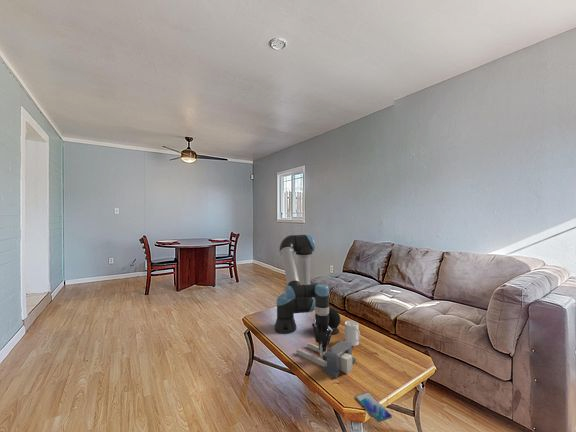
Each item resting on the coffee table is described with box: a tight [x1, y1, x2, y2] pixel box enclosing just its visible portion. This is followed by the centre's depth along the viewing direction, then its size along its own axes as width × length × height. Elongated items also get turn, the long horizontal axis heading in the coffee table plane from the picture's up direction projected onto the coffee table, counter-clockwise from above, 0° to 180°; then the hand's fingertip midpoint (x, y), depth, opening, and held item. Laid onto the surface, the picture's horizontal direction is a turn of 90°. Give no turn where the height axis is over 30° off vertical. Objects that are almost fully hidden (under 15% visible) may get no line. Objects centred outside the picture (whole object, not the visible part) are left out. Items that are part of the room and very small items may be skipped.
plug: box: [322, 352, 354, 374], centre depth 138 cm, size 16×5×7 cm, turn 46°
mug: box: [344, 320, 362, 347], centre depth 160 cm, size 12×8×12 cm
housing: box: [321, 339, 357, 379], centre depth 137 cm, size 8×19×10 cm, turn 136°
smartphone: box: [354, 391, 393, 423], centre depth 108 cm, size 7×1×15 cm
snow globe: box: [327, 307, 341, 336], centre depth 178 cm, size 13×13×15 cm
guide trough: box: [296, 342, 327, 368], centre depth 146 cm, size 22×11×2 cm, turn 46°
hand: (322, 356), depth 144 cm, fingers closed
